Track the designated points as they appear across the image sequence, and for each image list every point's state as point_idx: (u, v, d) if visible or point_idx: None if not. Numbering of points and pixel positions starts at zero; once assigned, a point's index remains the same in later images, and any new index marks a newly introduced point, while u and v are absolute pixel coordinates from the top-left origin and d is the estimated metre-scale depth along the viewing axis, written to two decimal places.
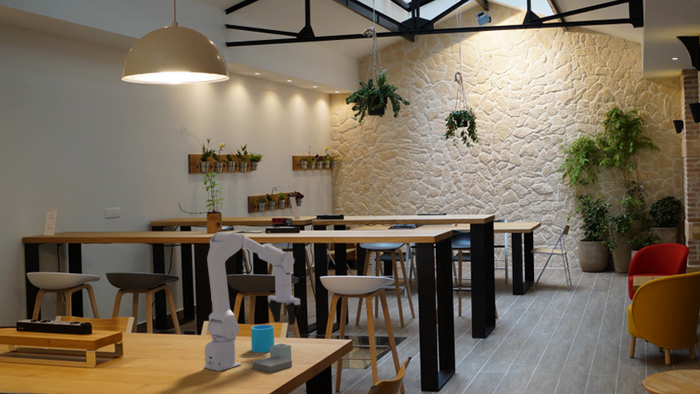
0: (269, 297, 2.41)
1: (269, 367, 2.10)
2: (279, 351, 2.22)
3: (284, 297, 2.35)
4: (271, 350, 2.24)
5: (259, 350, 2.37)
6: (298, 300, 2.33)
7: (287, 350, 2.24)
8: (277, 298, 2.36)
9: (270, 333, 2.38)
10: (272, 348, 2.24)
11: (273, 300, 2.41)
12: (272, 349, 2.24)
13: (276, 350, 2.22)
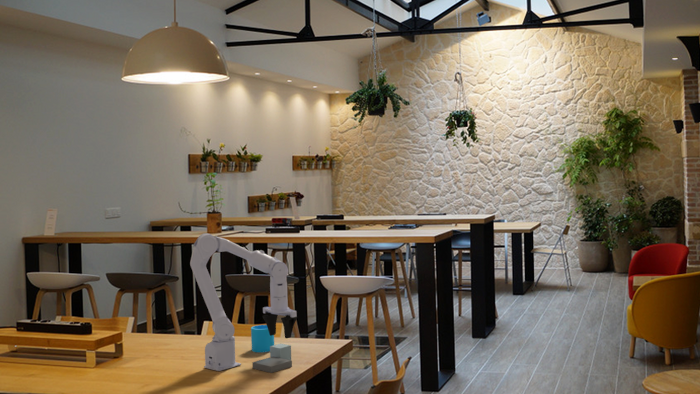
0: (264, 309, 2.28)
1: (269, 367, 2.10)
2: (279, 351, 2.22)
3: (280, 309, 2.22)
4: (271, 350, 2.24)
5: (259, 350, 2.37)
6: (294, 312, 2.20)
7: (287, 350, 2.24)
8: (272, 310, 2.23)
9: None
10: (272, 348, 2.24)
11: (268, 312, 2.28)
12: (272, 349, 2.24)
13: (276, 350, 2.22)
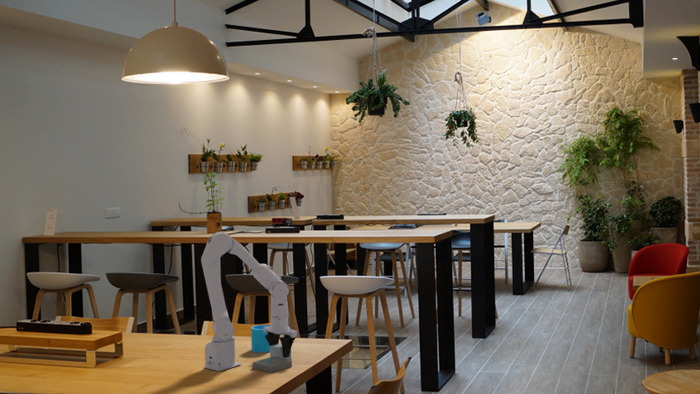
0: (264, 328, 2.28)
1: (269, 367, 2.10)
2: (279, 351, 2.22)
3: (280, 329, 2.22)
4: (271, 350, 2.24)
5: (259, 350, 2.37)
6: (295, 332, 2.20)
7: None
8: (273, 330, 2.23)
9: None
10: (272, 348, 2.24)
11: (269, 331, 2.28)
12: (272, 349, 2.24)
13: (276, 350, 2.22)
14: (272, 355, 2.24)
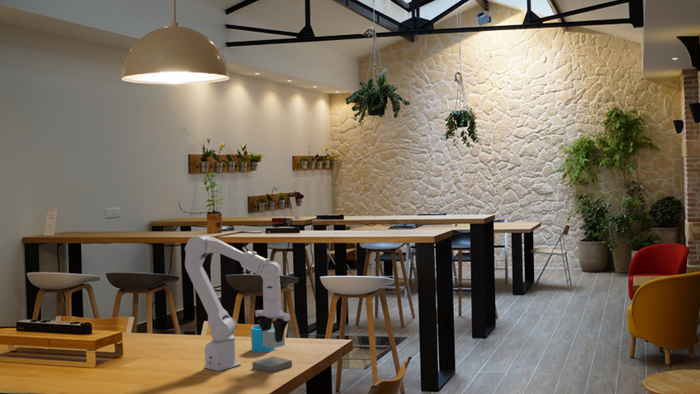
0: (256, 312, 2.21)
1: (269, 367, 2.10)
2: (272, 336, 2.15)
3: (273, 312, 2.15)
4: (264, 335, 2.17)
5: (259, 350, 2.37)
6: (288, 316, 2.13)
7: None
8: (265, 313, 2.15)
9: None
10: (265, 333, 2.17)
11: (261, 315, 2.20)
12: (265, 334, 2.17)
13: (269, 335, 2.15)
14: (265, 340, 2.17)
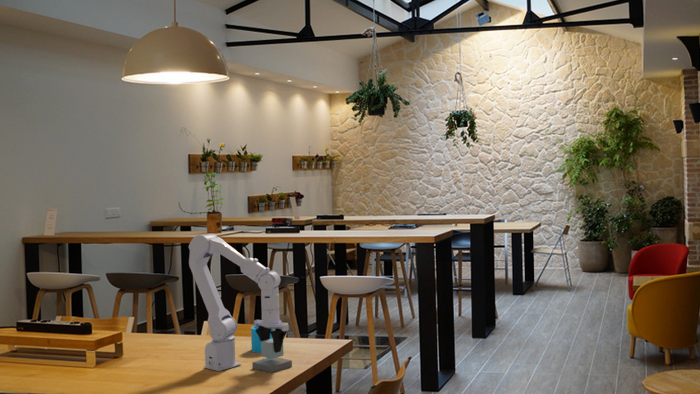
0: (255, 322, 2.19)
1: (269, 367, 2.10)
2: (271, 346, 2.13)
3: (271, 322, 2.13)
4: (262, 345, 2.15)
5: (259, 350, 2.37)
6: (286, 326, 2.11)
7: None
8: (263, 323, 2.14)
9: (270, 333, 2.38)
10: (263, 343, 2.15)
11: (259, 325, 2.19)
12: (263, 344, 2.15)
13: (268, 345, 2.14)
14: (263, 351, 2.15)
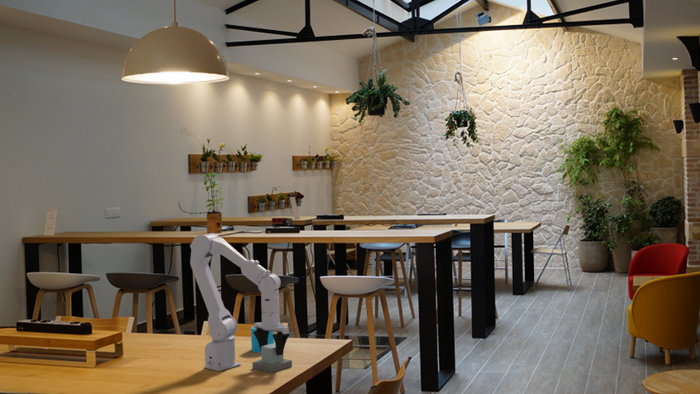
0: (255, 324, 2.19)
1: (269, 367, 2.10)
2: (270, 351, 2.13)
3: (271, 325, 2.13)
4: (262, 350, 2.15)
5: (259, 350, 2.37)
6: (286, 329, 2.11)
7: None
8: (263, 326, 2.14)
9: (270, 333, 2.38)
10: (263, 348, 2.15)
11: (259, 328, 2.19)
12: (263, 349, 2.15)
13: (267, 350, 2.14)
14: (263, 356, 2.15)
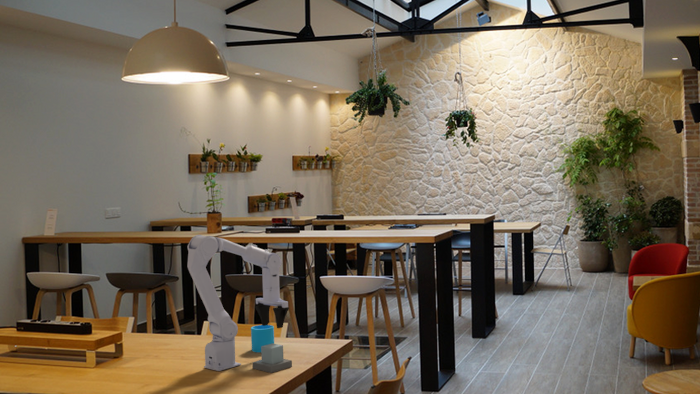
0: (257, 300, 2.33)
1: (269, 367, 2.10)
2: (270, 351, 2.13)
3: (272, 300, 2.27)
4: (262, 350, 2.15)
5: (259, 350, 2.37)
6: (286, 303, 2.25)
7: (278, 350, 2.15)
8: (264, 301, 2.28)
9: (270, 333, 2.38)
10: (263, 348, 2.15)
11: (261, 303, 2.33)
12: (263, 349, 2.15)
13: (267, 350, 2.14)
14: (263, 356, 2.15)
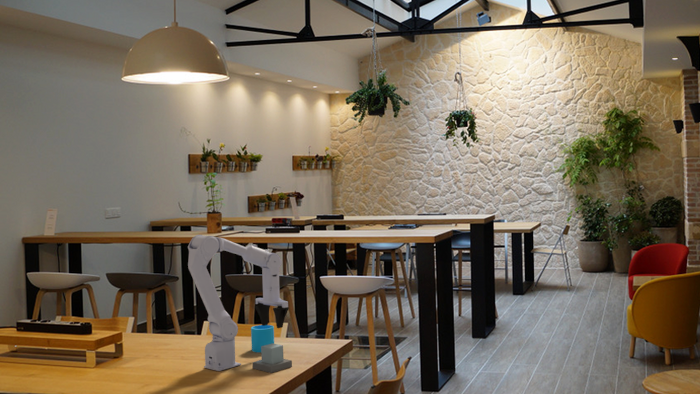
0: (256, 300, 2.33)
1: (269, 367, 2.10)
2: (270, 351, 2.13)
3: (272, 300, 2.27)
4: (262, 350, 2.15)
5: (259, 350, 2.37)
6: (286, 303, 2.25)
7: (278, 350, 2.15)
8: (264, 301, 2.28)
9: (270, 333, 2.38)
10: (263, 348, 2.15)
11: (261, 303, 2.33)
12: (263, 349, 2.15)
13: (267, 350, 2.14)
14: (263, 356, 2.15)
